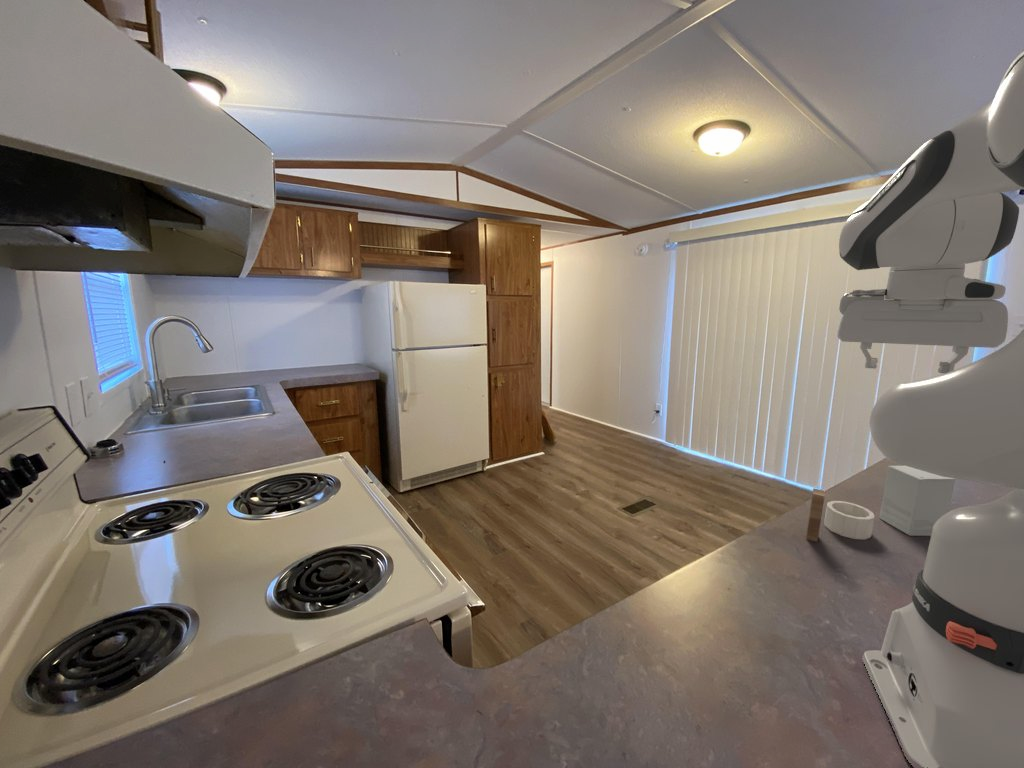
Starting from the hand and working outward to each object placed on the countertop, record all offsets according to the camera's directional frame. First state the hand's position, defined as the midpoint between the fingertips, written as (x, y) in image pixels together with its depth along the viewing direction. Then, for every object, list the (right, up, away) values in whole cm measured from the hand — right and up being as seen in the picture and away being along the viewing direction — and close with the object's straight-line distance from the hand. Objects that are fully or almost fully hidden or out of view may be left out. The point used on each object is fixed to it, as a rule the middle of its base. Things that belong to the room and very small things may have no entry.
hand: (906, 370), depth 70 cm
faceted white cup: (+3, -33, +16) cm, 37 cm away
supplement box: (+17, -33, +17) cm, 41 cm away
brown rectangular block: (-7, -34, +13) cm, 37 cm away
